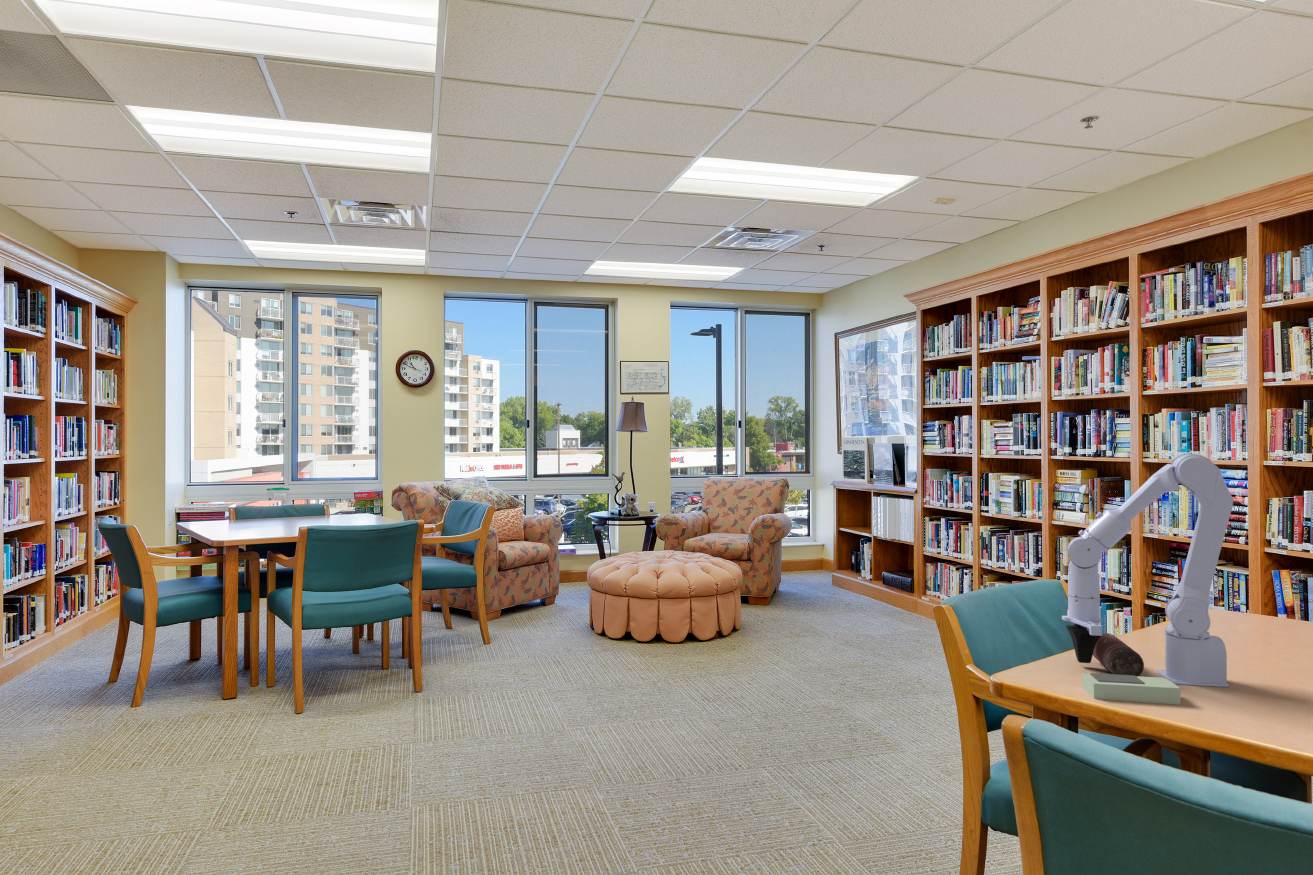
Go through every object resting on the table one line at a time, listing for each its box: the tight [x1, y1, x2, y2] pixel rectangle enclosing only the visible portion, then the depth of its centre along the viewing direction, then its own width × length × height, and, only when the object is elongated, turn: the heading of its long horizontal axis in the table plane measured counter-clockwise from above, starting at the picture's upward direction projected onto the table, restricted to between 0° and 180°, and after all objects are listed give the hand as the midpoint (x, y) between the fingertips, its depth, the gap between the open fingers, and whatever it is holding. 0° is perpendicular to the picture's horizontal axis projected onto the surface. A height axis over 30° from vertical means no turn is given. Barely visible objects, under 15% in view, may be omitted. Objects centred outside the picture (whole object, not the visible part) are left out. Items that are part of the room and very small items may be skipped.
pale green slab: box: [1082, 672, 1182, 705], centre depth 142 cm, size 14×6×3 cm, turn 78°
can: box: [1092, 632, 1145, 677], centre depth 158 cm, size 6×6×14 cm
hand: (1083, 661), depth 160 cm, fingers closed
